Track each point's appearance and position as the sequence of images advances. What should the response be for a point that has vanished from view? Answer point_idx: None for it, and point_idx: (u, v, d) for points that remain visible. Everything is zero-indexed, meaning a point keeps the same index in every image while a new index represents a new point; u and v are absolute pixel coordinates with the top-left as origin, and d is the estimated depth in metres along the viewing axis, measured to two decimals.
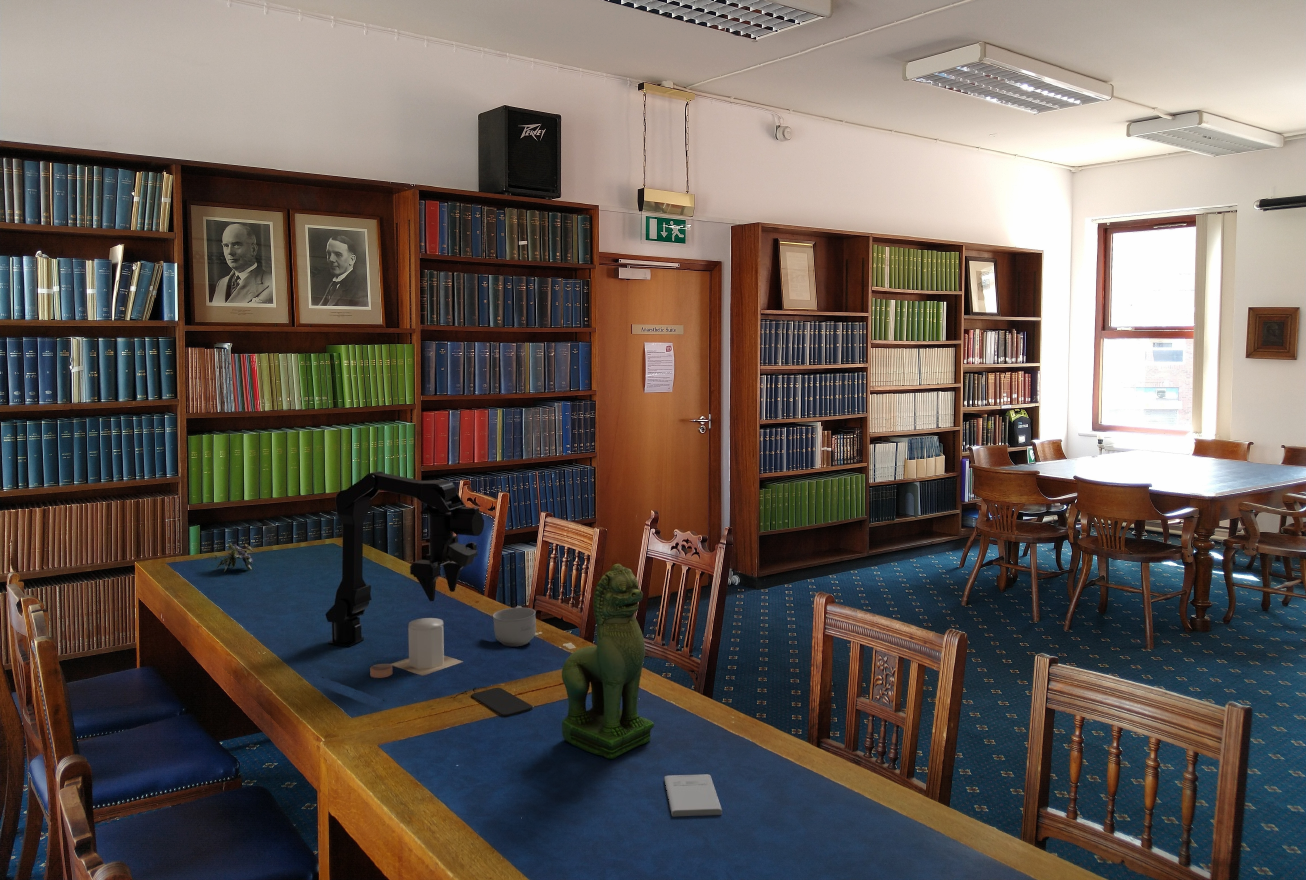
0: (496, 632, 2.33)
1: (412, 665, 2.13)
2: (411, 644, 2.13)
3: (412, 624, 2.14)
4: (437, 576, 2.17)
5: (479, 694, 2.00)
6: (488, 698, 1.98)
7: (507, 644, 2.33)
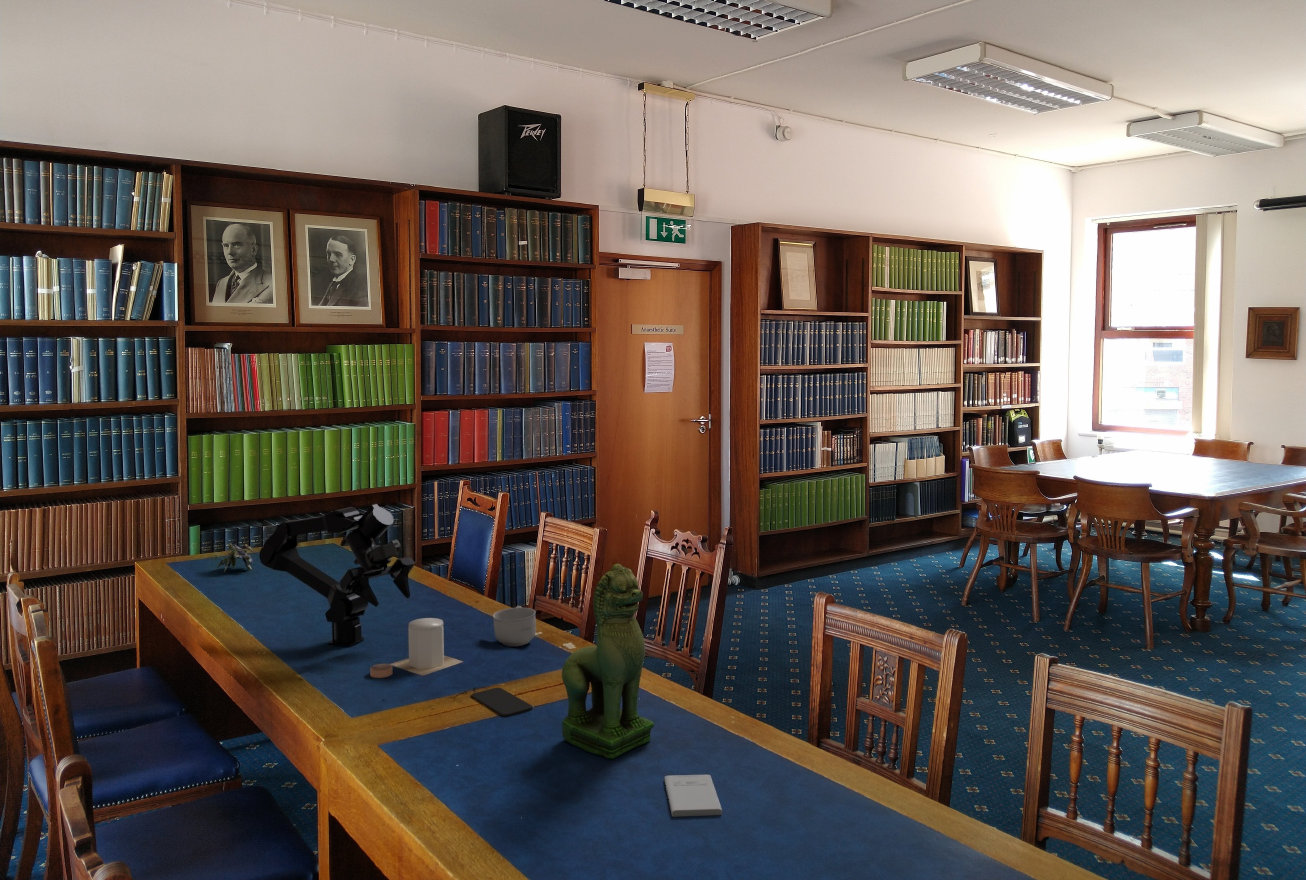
0: (496, 632, 2.33)
1: (412, 665, 2.13)
2: (411, 644, 2.13)
3: (412, 624, 2.14)
4: (363, 577, 2.20)
5: (479, 694, 2.00)
6: (488, 698, 1.98)
7: (507, 644, 2.33)
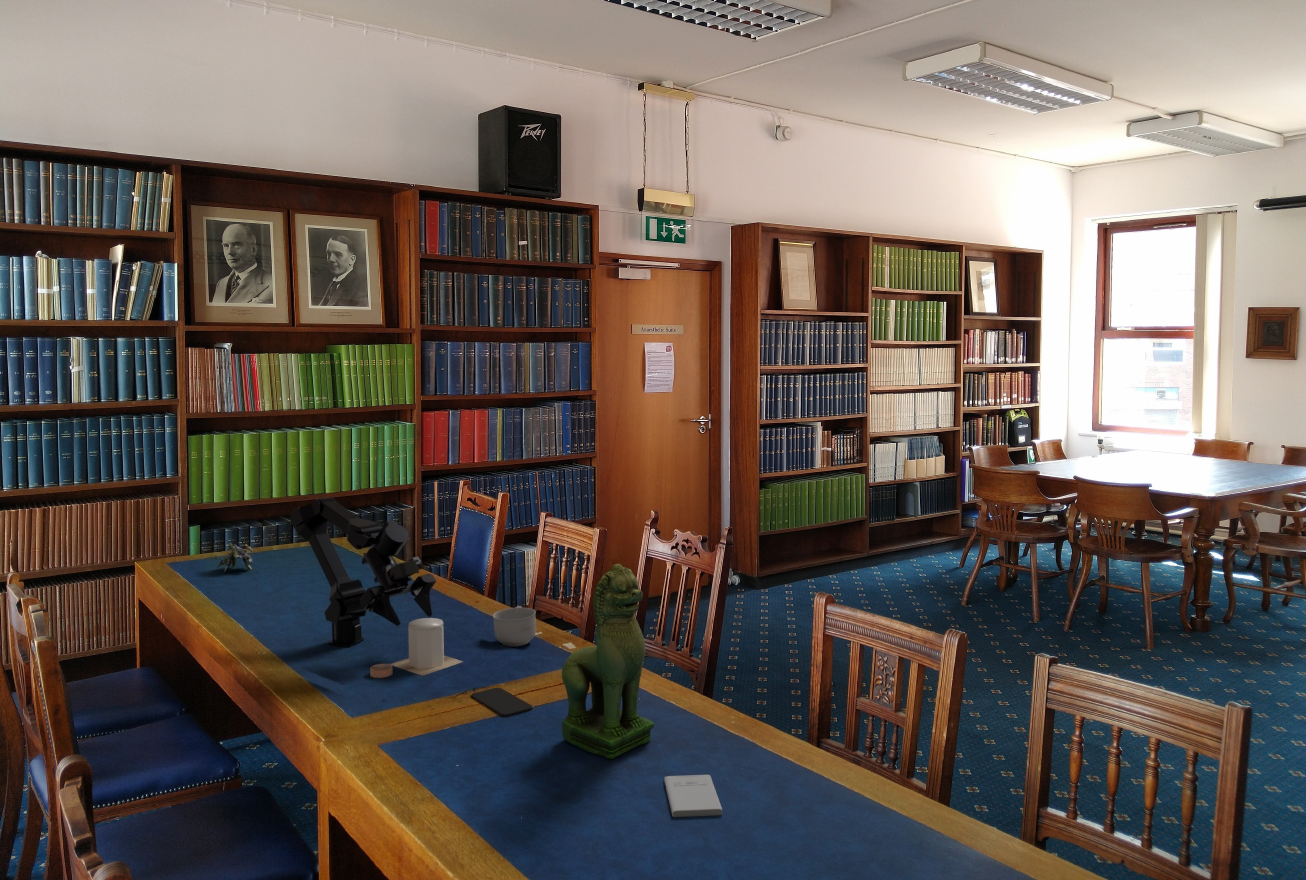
0: (496, 632, 2.33)
1: (412, 665, 2.13)
2: (411, 644, 2.13)
3: (412, 624, 2.14)
4: (384, 596, 2.14)
5: (479, 694, 2.00)
6: (488, 698, 1.98)
7: (507, 644, 2.33)
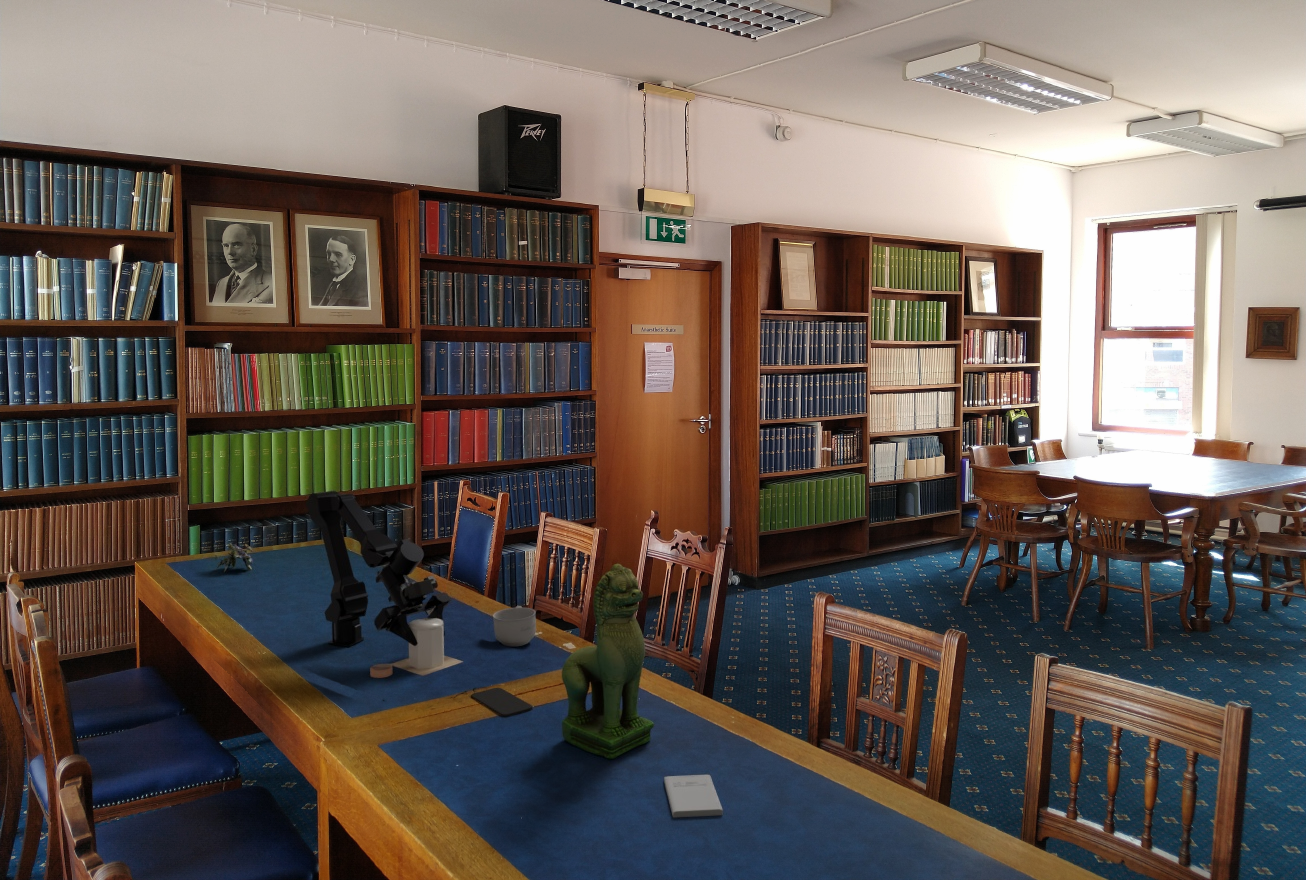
0: (496, 632, 2.33)
1: (412, 665, 2.13)
2: (411, 644, 2.13)
3: (412, 624, 2.14)
4: (401, 615, 2.11)
5: (479, 694, 2.00)
6: (488, 698, 1.98)
7: (507, 644, 2.33)
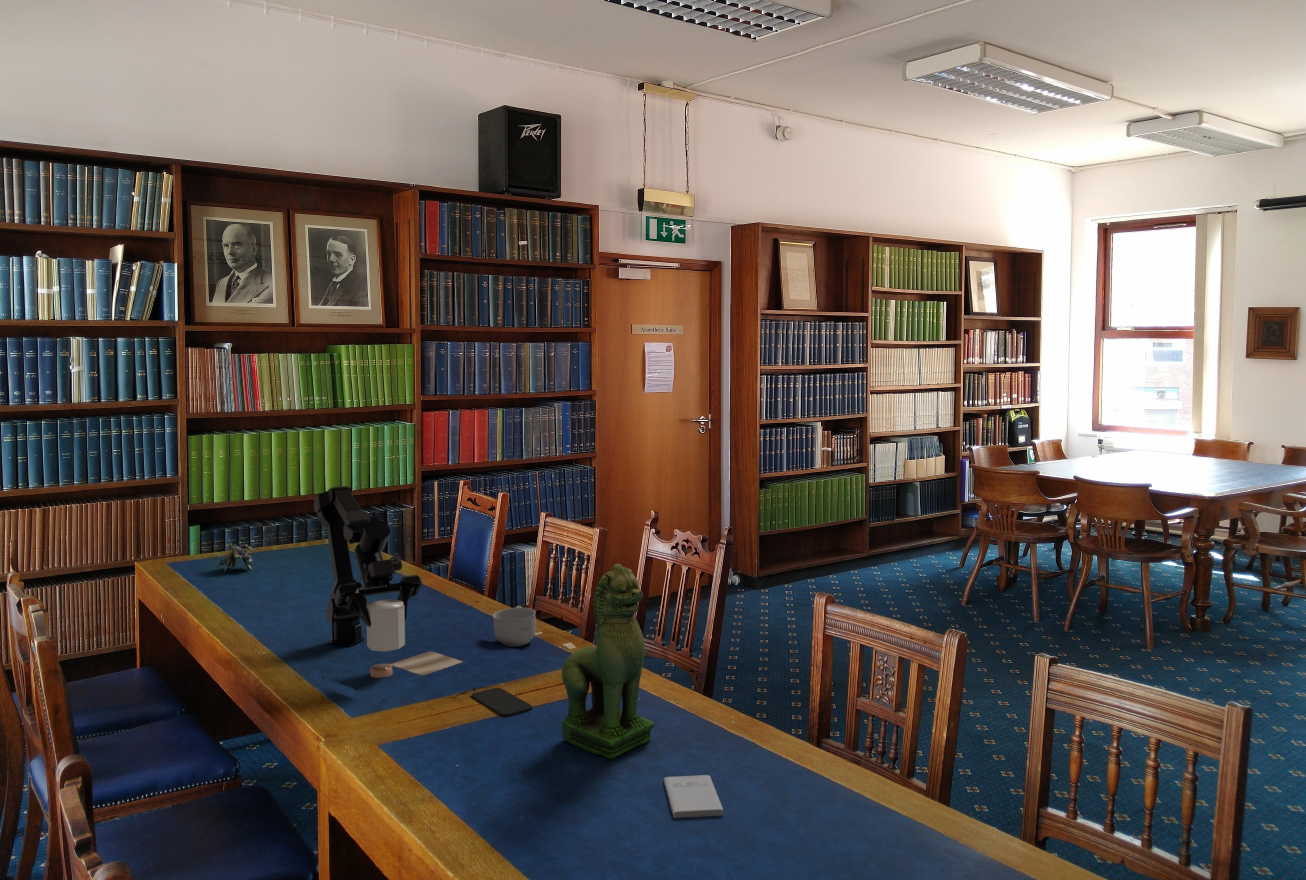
0: (496, 632, 2.33)
1: (368, 646, 2.07)
2: None
3: (371, 604, 2.07)
4: (356, 594, 2.05)
5: (479, 694, 2.00)
6: (488, 698, 1.98)
7: (507, 644, 2.33)
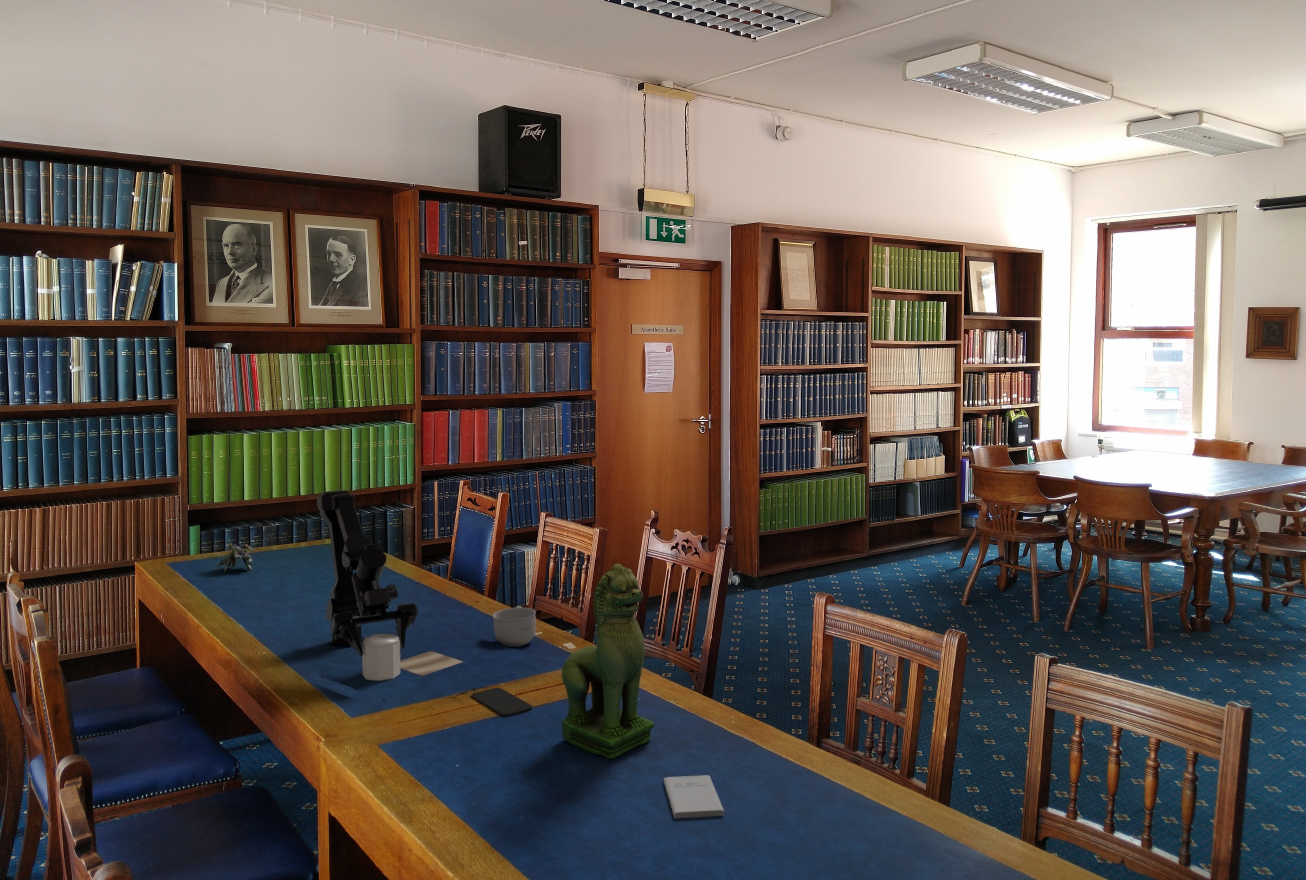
0: (496, 632, 2.33)
1: None
2: (363, 659, 2.07)
3: (366, 639, 2.08)
4: (349, 623, 2.05)
5: (479, 694, 2.00)
6: (488, 698, 1.98)
7: (507, 644, 2.33)
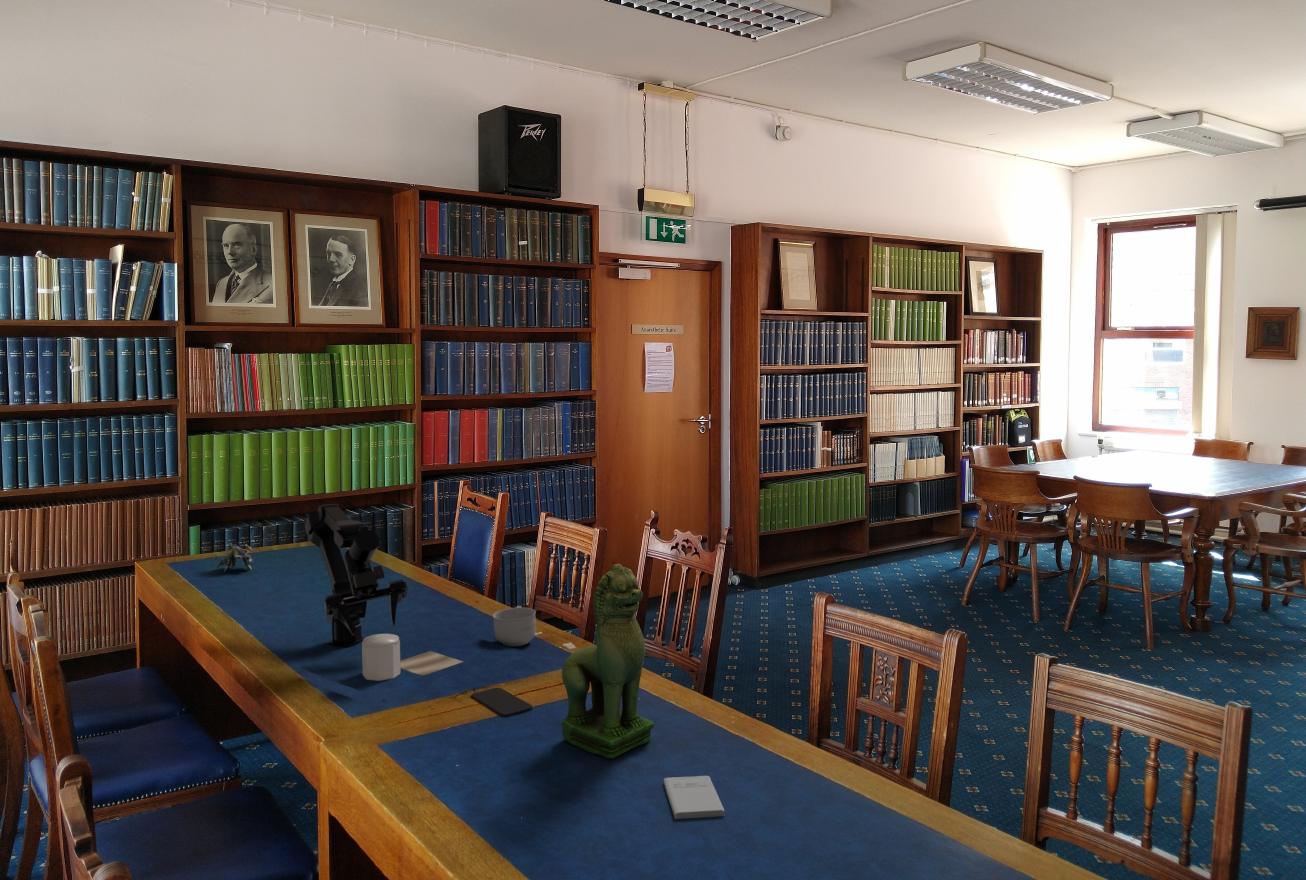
0: (496, 632, 2.33)
1: None
2: (363, 659, 2.07)
3: (366, 639, 2.08)
4: (339, 605, 2.14)
5: (479, 694, 2.00)
6: (488, 698, 1.98)
7: (507, 644, 2.33)
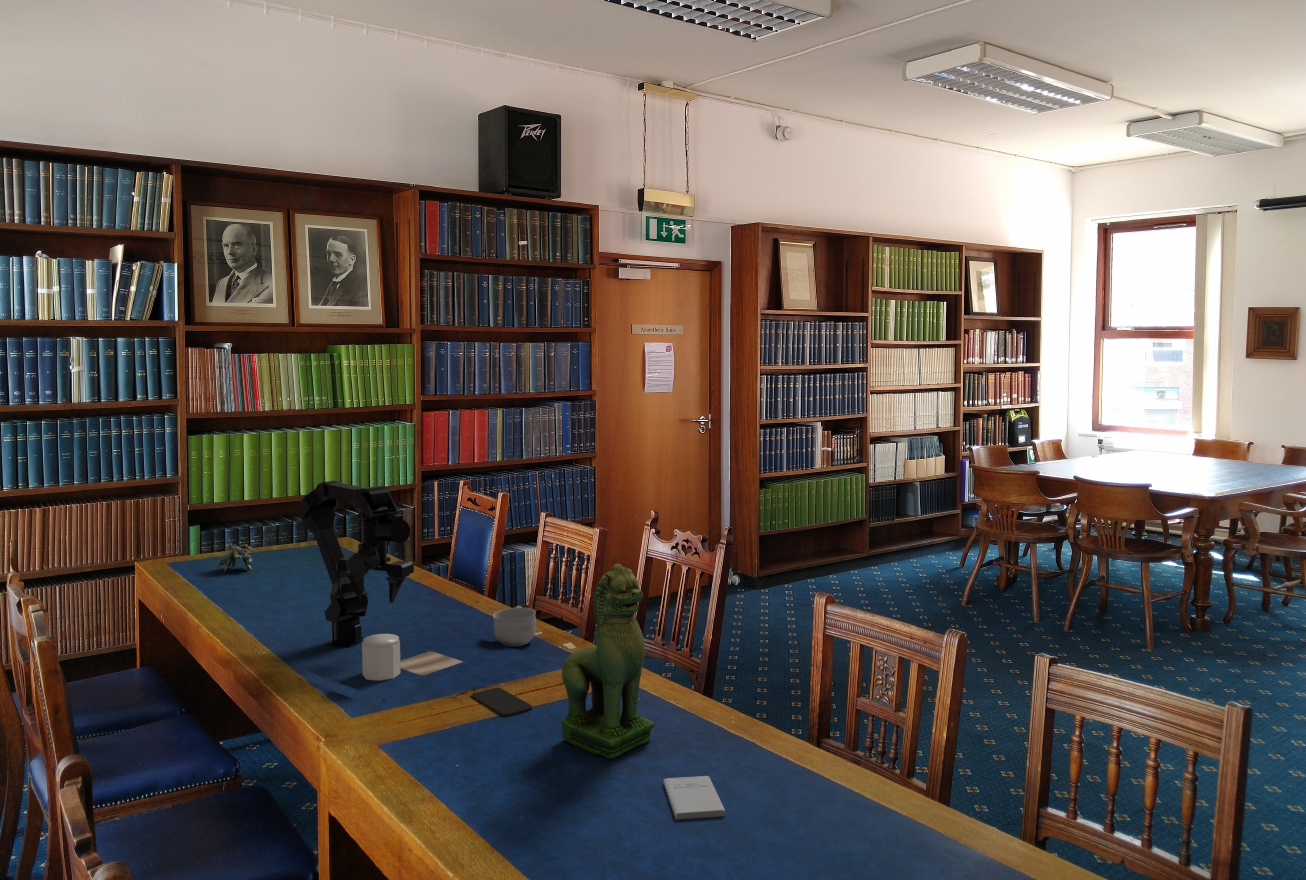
0: (496, 632, 2.33)
1: None
2: (363, 659, 2.07)
3: (366, 639, 2.08)
4: (345, 574, 2.25)
5: (479, 694, 2.00)
6: (488, 698, 1.98)
7: (507, 644, 2.33)
